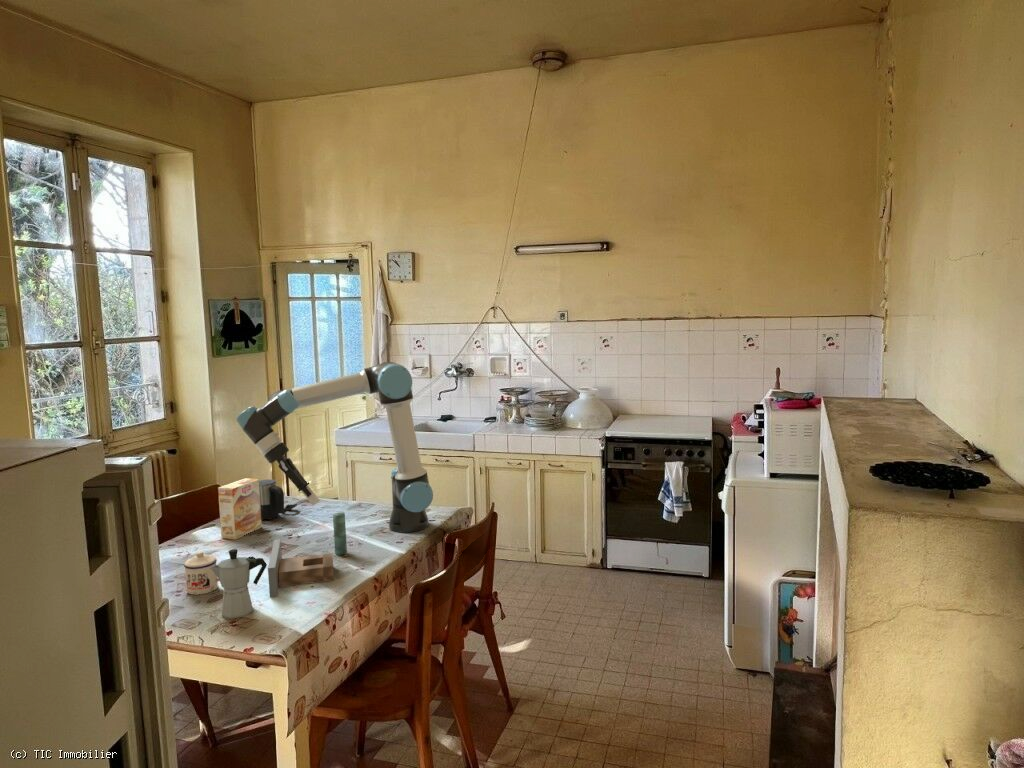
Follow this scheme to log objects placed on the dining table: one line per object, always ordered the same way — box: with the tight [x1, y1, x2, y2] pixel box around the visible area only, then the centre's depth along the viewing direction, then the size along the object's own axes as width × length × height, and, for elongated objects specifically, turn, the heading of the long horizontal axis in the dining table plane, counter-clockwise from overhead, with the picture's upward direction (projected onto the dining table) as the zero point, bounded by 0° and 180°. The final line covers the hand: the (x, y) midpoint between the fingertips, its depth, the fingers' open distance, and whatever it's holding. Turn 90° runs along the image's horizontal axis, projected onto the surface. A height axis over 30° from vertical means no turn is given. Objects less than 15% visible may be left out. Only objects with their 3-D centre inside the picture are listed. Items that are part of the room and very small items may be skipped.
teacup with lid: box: [183, 551, 220, 596], centre depth 209 cm, size 12×9×12 cm
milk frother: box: [259, 478, 298, 520], centre depth 284 cm, size 14×16×15 cm
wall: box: [267, 538, 283, 599], centre depth 214 cm, size 2×26×9 cm, turn 15°
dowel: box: [332, 512, 348, 556], centre depth 236 cm, size 4×4×14 cm
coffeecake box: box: [217, 477, 263, 541], centre depth 261 cm, size 15×7×20 cm, turn 161°
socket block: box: [279, 553, 335, 588], centre depth 217 cm, size 16×12×4 cm
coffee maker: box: [209, 548, 268, 620], centre depth 192 cm, size 15×9×18 cm, turn 114°
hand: (316, 502), depth 232 cm, fingers closed
